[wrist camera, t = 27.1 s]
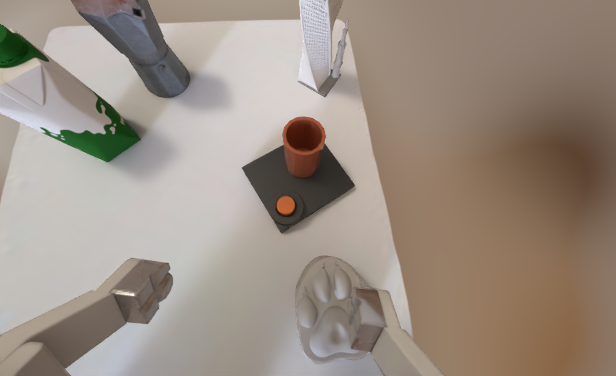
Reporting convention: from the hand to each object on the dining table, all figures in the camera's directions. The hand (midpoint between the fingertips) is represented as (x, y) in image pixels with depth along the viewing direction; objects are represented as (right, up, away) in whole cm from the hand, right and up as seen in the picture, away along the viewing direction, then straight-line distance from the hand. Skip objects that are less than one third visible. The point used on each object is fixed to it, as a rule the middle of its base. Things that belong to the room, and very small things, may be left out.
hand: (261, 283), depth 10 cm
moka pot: (-28, +27, +37) cm, 54 cm away
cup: (+1, +9, +31) cm, 33 cm away
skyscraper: (+4, +29, +40) cm, 49 cm away
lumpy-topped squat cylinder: (+5, -14, +27) cm, 31 cm away
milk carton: (-36, +14, +33) cm, 50 cm away
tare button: (-2, +1, +28) cm, 28 cm away
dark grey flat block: (0, +6, +32) cm, 33 cm away
